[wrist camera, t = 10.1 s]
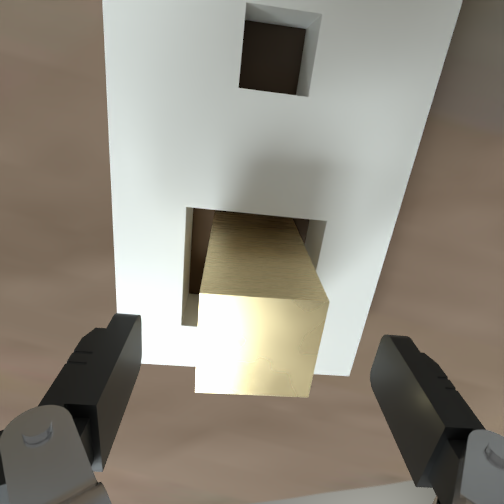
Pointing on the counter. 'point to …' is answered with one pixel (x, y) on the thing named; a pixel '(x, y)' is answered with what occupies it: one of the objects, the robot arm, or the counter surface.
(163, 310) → the white peg hole board
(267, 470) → the counter surface
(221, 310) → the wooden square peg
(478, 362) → the counter surface
